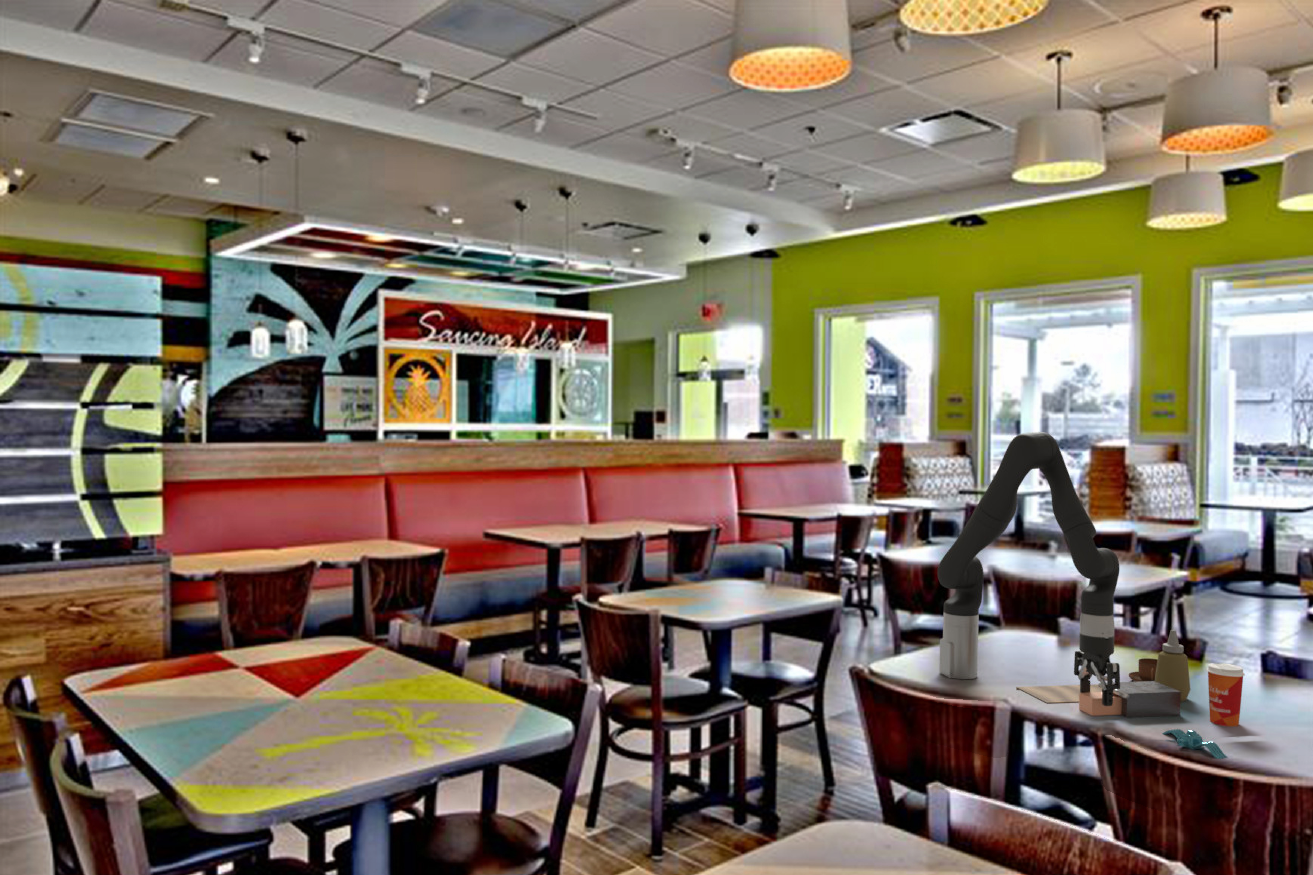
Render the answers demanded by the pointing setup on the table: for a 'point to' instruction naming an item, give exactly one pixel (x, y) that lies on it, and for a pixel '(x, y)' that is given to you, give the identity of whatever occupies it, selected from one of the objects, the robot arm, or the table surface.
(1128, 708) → the dispenser
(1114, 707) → the block
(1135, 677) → the cup and saucer
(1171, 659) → the squeeze bottle
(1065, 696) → the board
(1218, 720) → the paper cup
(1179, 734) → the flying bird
